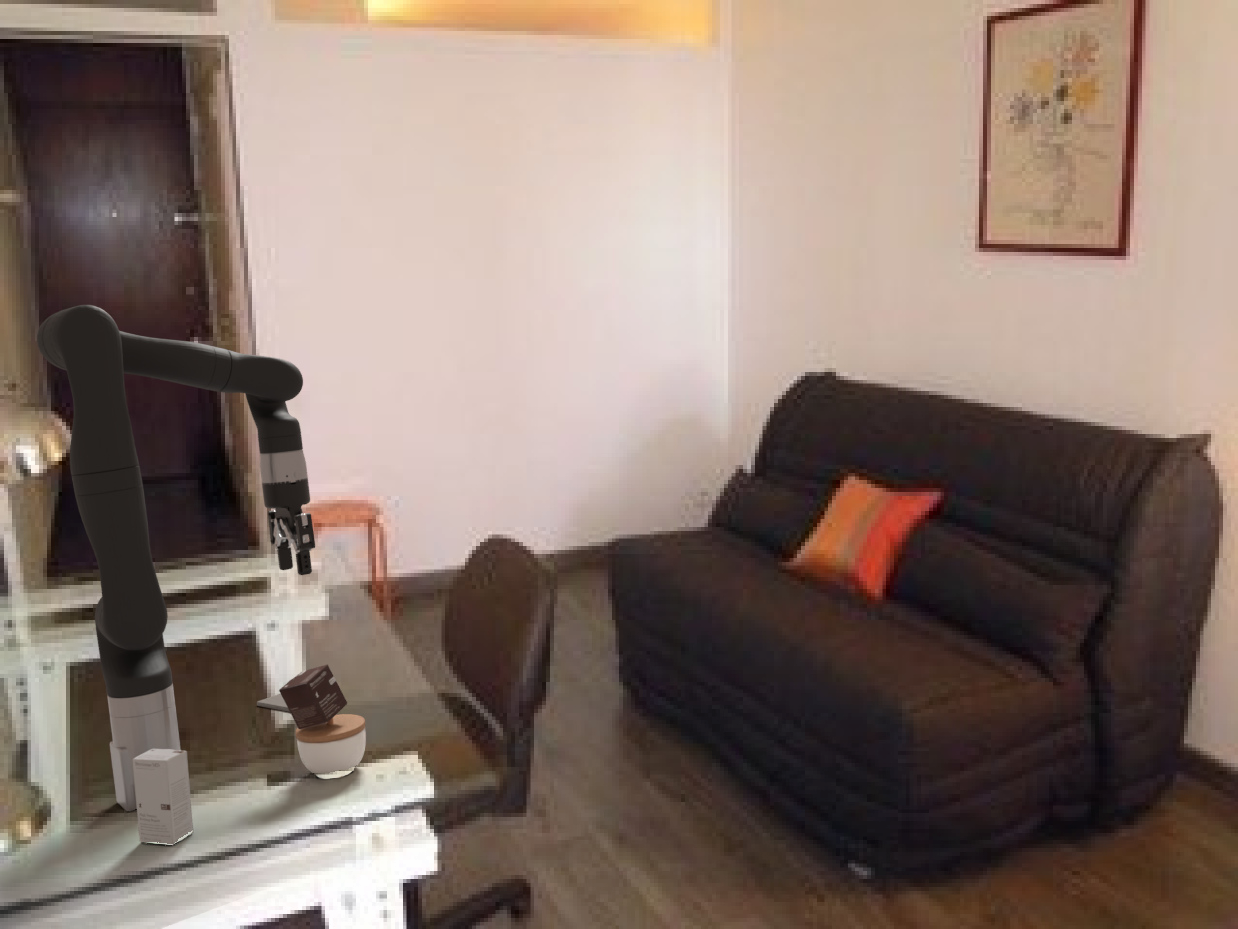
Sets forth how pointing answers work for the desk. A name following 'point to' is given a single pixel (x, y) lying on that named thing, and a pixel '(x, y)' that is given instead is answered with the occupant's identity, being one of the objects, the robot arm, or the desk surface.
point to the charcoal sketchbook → (274, 703)
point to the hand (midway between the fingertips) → (295, 571)
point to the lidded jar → (332, 744)
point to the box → (313, 697)
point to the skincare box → (162, 795)
